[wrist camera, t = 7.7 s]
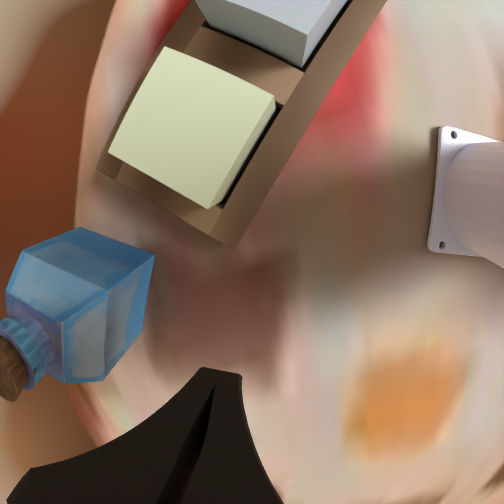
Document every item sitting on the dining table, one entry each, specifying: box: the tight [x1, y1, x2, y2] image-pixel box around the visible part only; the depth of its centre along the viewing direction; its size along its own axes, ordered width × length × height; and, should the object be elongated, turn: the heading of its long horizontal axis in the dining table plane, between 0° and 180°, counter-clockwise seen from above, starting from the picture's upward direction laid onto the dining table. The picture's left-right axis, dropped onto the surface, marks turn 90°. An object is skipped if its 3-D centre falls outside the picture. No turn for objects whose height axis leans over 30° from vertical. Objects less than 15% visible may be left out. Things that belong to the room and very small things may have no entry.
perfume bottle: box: [0, 227, 155, 402], centre depth 15 cm, size 6×6×12 cm
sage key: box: [108, 46, 276, 209], centre depth 14 cm, size 5×5×4 cm
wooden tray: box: [96, 0, 387, 250], centre depth 14 cm, size 9×25×3 cm, turn 150°
